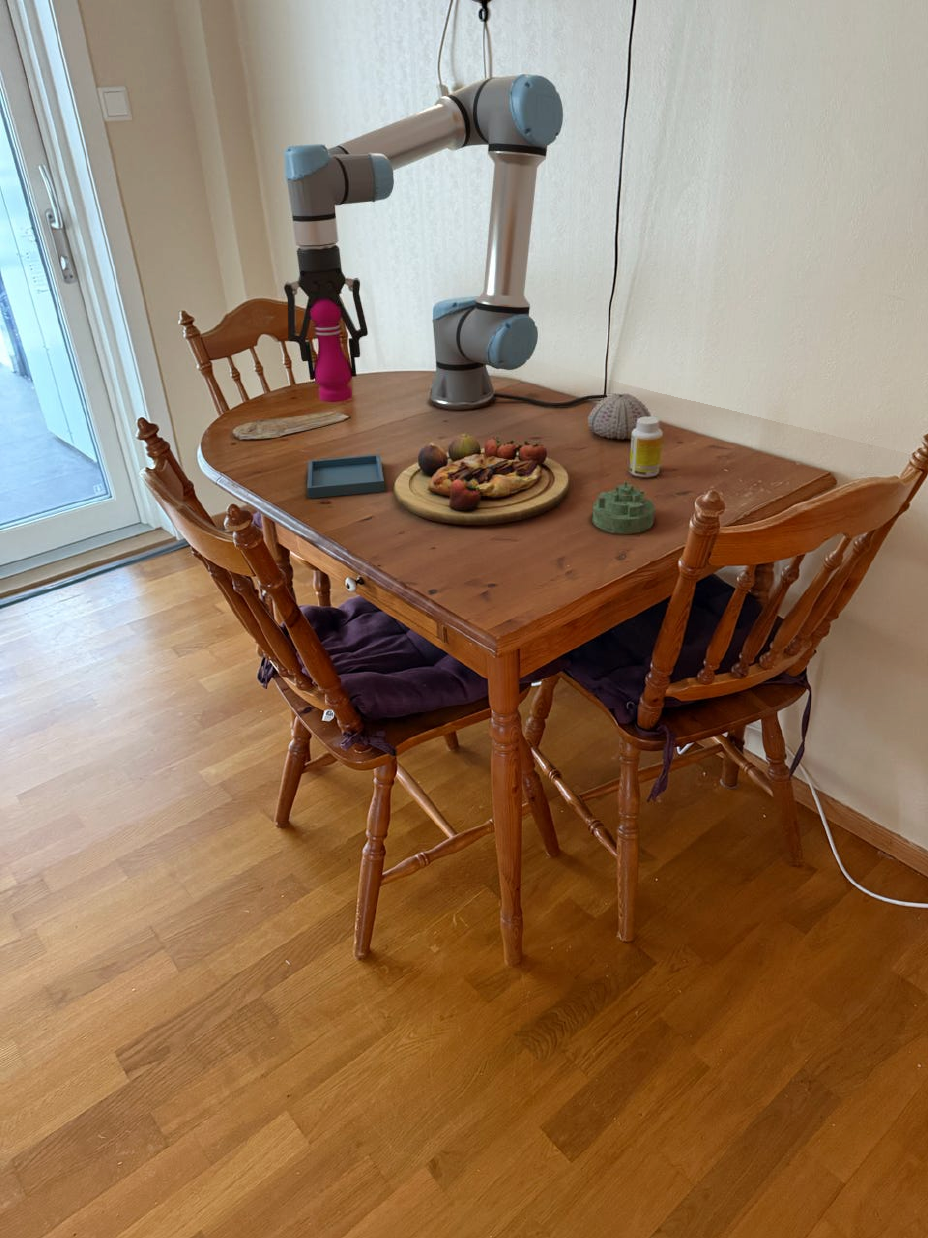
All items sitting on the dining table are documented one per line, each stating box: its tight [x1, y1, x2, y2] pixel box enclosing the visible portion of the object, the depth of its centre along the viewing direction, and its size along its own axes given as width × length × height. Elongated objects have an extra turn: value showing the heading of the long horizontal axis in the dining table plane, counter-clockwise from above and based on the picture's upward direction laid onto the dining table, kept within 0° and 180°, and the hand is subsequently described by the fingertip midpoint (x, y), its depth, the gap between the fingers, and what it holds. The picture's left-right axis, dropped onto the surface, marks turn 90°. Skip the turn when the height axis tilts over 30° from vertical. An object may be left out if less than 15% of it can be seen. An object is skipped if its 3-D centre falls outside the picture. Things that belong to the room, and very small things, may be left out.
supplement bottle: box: [629, 416, 664, 479], centre depth 154 cm, size 6×6×10 cm
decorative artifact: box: [592, 480, 656, 535], centre depth 137 cm, size 10×7×10 cm
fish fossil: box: [232, 410, 349, 440], centre depth 187 cm, size 26×10×1 cm, turn 123°
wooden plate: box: [393, 433, 571, 526], centre depth 150 cm, size 32×32×8 cm
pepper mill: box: [310, 299, 353, 403], centre depth 156 cm, size 7×7×20 cm
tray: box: [306, 453, 386, 500], centre depth 159 cm, size 14×14×2 cm
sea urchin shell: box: [587, 393, 652, 440], centre depth 173 cm, size 13×14×8 cm
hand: (333, 376), depth 159 cm, fingers closed on pepper mill, 7 cm apart
